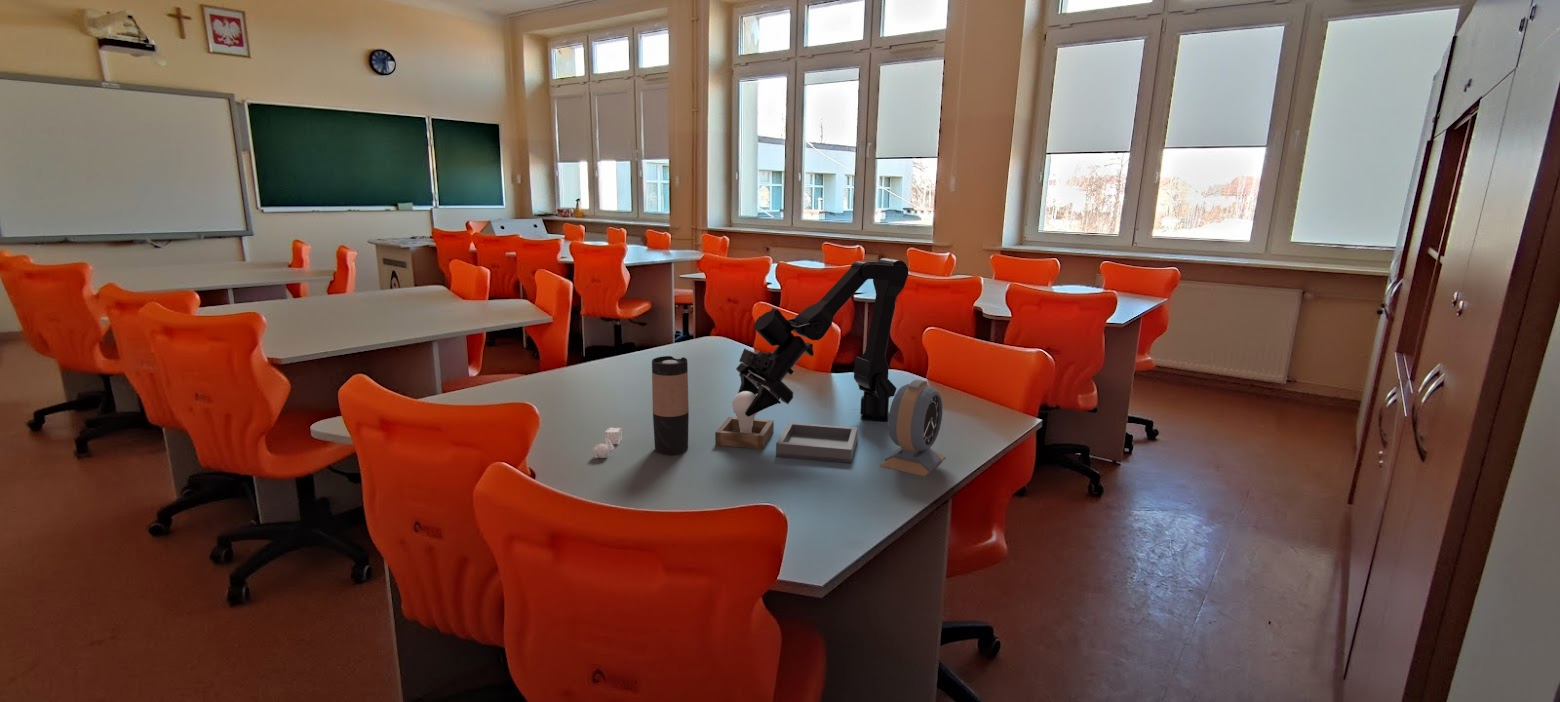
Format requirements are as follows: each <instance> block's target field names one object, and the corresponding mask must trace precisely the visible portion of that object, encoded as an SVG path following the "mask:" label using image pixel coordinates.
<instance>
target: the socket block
mask: <svg viewBox="0 0 1560 702" xmlns="http://www.w3.org/2000/svg"><path fill="white" fill-rule="evenodd" d="M774 424H775V423H774V420H772V419H761V418H760V419H759V418H754V420H753V427H752V433H742V432H740V427H739V421H738V418H737V416H736V417H735V416H728V417H727V418H726V419H725V420H724V421H723V422H722V424H721V425H720V426H719V427H718V428H717V430H716V431H715V433H714V435H715V437H714V438H715V441H714V442H715V443H714V444H715V446H721V447H722V446H723V447H733V448H734V447H735V448H743V449H744V448H746V449H755V450H756V449H757V450H765V448H766V446H767V444H768V442H769V440H770V439H771V437H772V436H773V434H774V428H775V427H774Z"/></svg>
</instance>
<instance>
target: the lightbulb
mask: <svg viewBox="0 0 1560 702" xmlns="http://www.w3.org/2000/svg"><path fill="white" fill-rule="evenodd" d="M756 396H757V394H756V395H755V394H753V393H752V392H749V391H743V392H740V393H738V392H737V394H736V395H735V396H734V397H733V400H732V406H731V407H732V410H733V412H734V414H735V416H736V418H738V421H739V427H740V432H742V433H752V427H753V420H754V419H755V417H756V415H757V414H758V412H757V413H755V414H753V415H751V416H749V417H748V416H747V415H745V412H746V411H747V409H748V407H749V406H750V404H751V403H752V401H753V400H754V399H755V397H756Z"/></svg>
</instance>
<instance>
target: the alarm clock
mask: <svg viewBox="0 0 1560 702" xmlns="http://www.w3.org/2000/svg"><path fill="white" fill-rule="evenodd" d="M943 408H944V407H943V401H942V396H941V394H940V391H938V390H937V389H935V388H934V387H931V386H930V385H929V384H928V381H927V380H922V379H914V380H912V381H911V382H910V383H907V384H905V385H903V386H901V387H900V388H899V389H897V390H896V392H895V395H894V396H893V400H892V402H891V404H890V408H889V417H888V433H889V437H890V440H891V441H892V442H893V443H894V444H895V446H898V447H900V448H898V449H896V450H895V451H894V452H892V453H891V454H890V455H888V456H887V457H886V458H885V459H884V461H883V462H882V463H881V464H879V467H883V468H887V469H891V470H893V471H899V472H904V473H907V474H911V475H915V476H919V477H926V476H928V474H929V473H931V471H933V470H934V469H935V468H936V467H937V466H938V465H939V464H940V463H941V462H943V460H944V459H946V456H945V455H943V454H942V453H939V452H937V451H935V450H933V449H932V448H931V447H932V446H933V445H934V444H935V442H936V440H937V438H938V435H939V432H940V428H941V426H942V419H943Z"/></svg>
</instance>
